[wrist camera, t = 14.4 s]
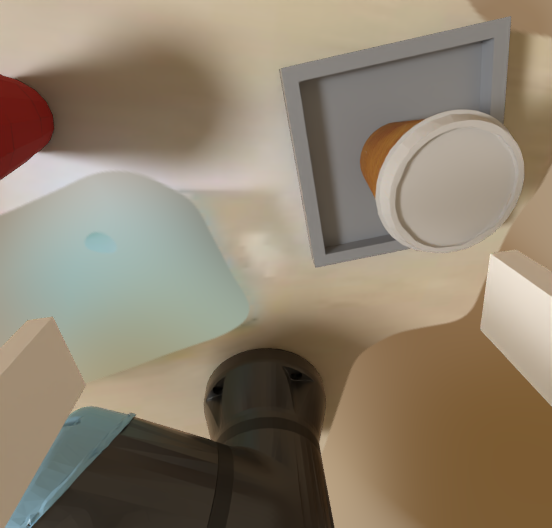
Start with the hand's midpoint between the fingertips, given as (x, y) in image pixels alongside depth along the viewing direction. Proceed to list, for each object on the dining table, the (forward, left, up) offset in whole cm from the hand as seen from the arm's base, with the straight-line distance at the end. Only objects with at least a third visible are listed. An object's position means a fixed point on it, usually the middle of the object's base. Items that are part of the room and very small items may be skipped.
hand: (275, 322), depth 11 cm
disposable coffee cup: (-2, -12, -25) cm, 28 cm away
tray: (-2, -12, -26) cm, 29 cm away
